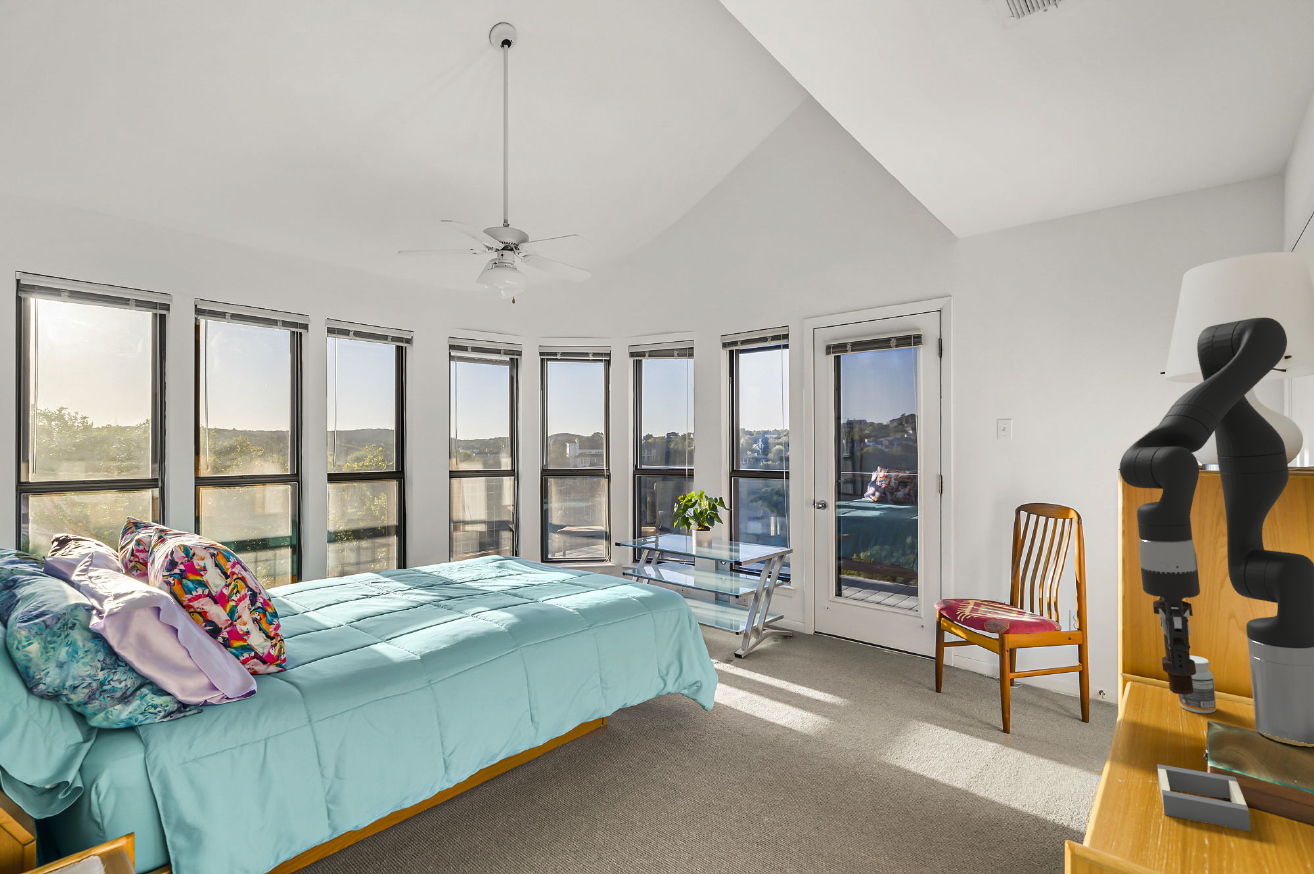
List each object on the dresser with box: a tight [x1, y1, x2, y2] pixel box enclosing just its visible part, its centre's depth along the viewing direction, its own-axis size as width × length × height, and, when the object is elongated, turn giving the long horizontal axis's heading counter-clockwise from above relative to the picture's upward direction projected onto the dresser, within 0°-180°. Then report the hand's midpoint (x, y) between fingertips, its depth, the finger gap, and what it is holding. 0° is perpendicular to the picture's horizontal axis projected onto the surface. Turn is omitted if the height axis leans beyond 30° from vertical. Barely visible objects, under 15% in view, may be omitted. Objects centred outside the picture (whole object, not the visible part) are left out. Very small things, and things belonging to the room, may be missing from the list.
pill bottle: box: [1178, 655, 1217, 714], centre depth 129 cm, size 6×6×10 cm
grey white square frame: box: [1156, 763, 1252, 833], centre depth 98 cm, size 10×10×3 cm
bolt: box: [1152, 599, 1196, 695], centre depth 107 cm, size 6×5×15 cm
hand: (1178, 666), depth 107 cm, fingers closed on bolt, 4 cm apart
